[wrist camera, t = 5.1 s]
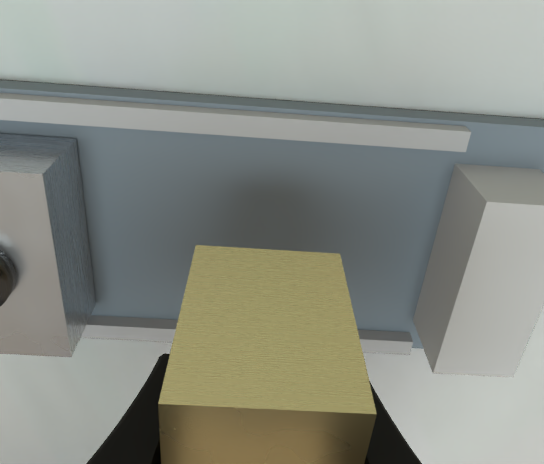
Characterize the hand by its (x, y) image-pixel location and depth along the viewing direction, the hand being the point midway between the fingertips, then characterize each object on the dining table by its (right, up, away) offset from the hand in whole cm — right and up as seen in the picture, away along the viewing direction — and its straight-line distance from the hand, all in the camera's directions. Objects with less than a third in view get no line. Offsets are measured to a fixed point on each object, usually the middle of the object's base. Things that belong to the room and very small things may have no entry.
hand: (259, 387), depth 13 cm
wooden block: (0, +1, +1) cm, 2 cm away
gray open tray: (-1, +4, +7) cm, 8 cm away
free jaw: (-9, +4, +6) cm, 11 cm away
